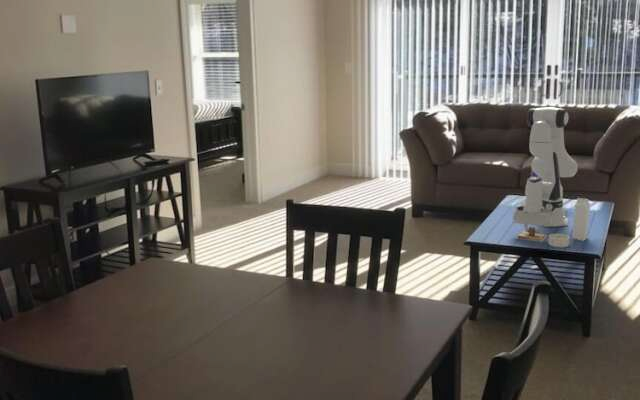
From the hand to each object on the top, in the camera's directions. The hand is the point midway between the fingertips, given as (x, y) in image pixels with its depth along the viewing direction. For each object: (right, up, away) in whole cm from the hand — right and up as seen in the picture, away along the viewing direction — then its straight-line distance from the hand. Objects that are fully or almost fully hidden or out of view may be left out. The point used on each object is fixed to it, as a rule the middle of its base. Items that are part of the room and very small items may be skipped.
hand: (531, 232), depth 371 cm
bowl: (+10, -6, -14) cm, 18 cm away
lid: (0, -2, 0) cm, 2 cm away
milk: (+25, -3, -3) cm, 25 cm away
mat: (0, -3, +1) cm, 3 cm away
